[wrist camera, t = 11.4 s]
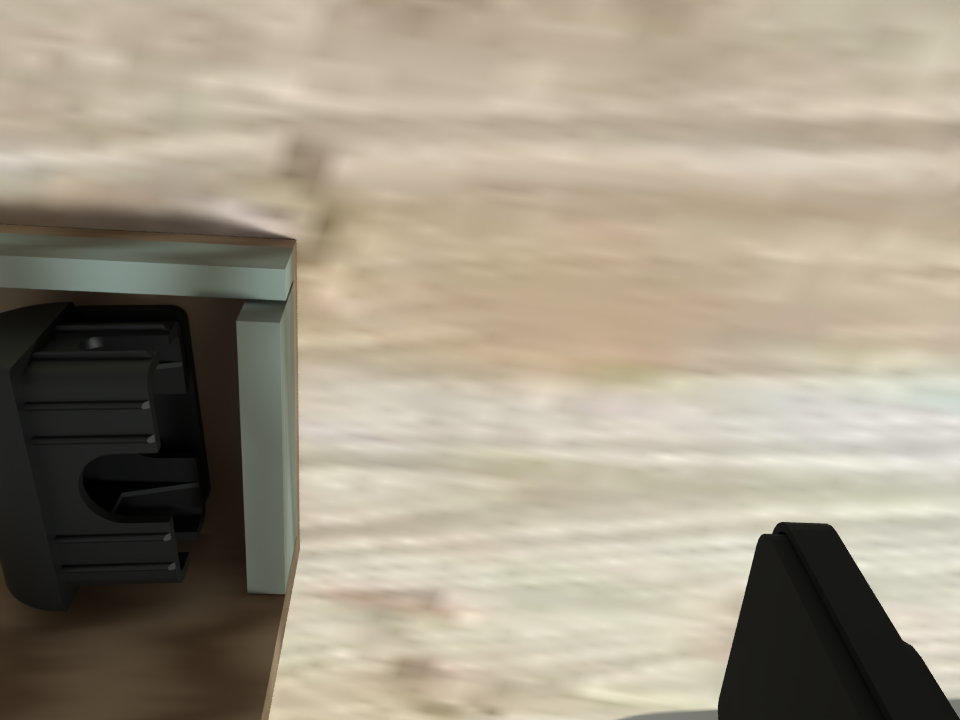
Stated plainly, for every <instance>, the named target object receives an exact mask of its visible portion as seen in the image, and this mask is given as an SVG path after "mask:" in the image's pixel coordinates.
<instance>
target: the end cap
mask: <svg viewBox="0 0 960 720" xmlns="http://www.w3.org/2000/svg"><path fill="white" fill-rule="evenodd" d="M210 489H211V485H210V478H209V470H208V463H207V455H206V448H205V441H204V433H203V426H202V418H201V411H200V403H199V396H198V388H197V381H196V373H195V366H194V359H193V351H192V344H191V336H190V329H189V321H188V317H187V315H186V312H185V311H184V310H183V309H181V308H180V307H179V306H174V305H85V306H74V303H73V302H55V303H45V304H37V305H32V306H26V307H21V308H17V309H13V310H8V311H5V312H2V313H0V563H1V567H2V570H3V574H4V578H5V582H6V586H7V588H8V589H9V591H10V592H11V594H12V595H13V596H14V597H15V598H16V599H18V600H19V601H20V602H22V603H23V604H25V605H28V606H30V607H33V608H35V609H41V610H46V611H56V612H67V611H68V609H69V607H70V605H71V603H72V601H73V599H74V597H75V595H76V593H77V591H78V589H79V587H80V586H93V585H127V584H162V583H182V582H183V580H184V577H185V574H186V572H187V569H188V566H189V563H190V554H189V552H178V550H177V544H176V541H183V540H198V538H199V535H200V532H201V529H202V526H203V524H204V520H205V502H206V501H207V499H208V497H209V494H210Z"/></svg>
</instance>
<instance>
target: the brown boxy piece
mask: <svg viewBox="0 0 960 720" xmlns="http://www.w3.org/2000/svg"><path fill="white" fill-rule="evenodd" d="M55 302H73V303H74V306H85V305H174V306H179V307H180V308H181V309H183V310H184V311H185V312H186V315H187V317H188V321H189V329H190V336H191V344H192V351H193V359H194V366H195V373H196V381H197V388H198V396H199V403H200V411H201V418H202V426H203V433H204V441H205V448H206V455H207V463H208V470H209V478H210V485H211V489H210V494H209V497H208V499H207V501H206V502H205V520H204V524H203V526H202V529H201V532H200V535H199V538H198V540H183V541H176V544H177V550H178V552H189V554H190V563H189V566H188V569H187V572H186V574H185V577H184V580H183V582H182V583H162V584H127V585H93V586H80V587H79V589H78V591H77V593H76V595H75V597H74V599H73V601H72V603H71V605H70V607H69V609H68V611H67V612H56V611H46V610H41V609H35V608H33V607H30V606H28V605H25V604H23V603H22V602H20V601H19V600H18V599H16V598H15V597H14V596H13V595H12V594H11V592H10V591H9V589H8V588H7V586H6V582H5V578H4V574H3V570H2V567H1V563H0V720H268V718H269V713H270V707H271V702H272V696H273V691H274V686H275V680H276V675H277V669H278V664H279V659H280V653H281V648H282V642H283V637H284V632H285V626H286V621H287V615H288V610H289V605H290V599H291V594H292V588H293V583H294V577H295V572H296V567H297V561H298V556H299V550H300V539H299V443H298V348H297V252H296V240H290V239H271V238H252V237H233V236H214V235H194V234H175V233H156V232H137V231H118V230H99V229H80V228H61V227H42V226H23V225H4V224H0V313H2V312H5V311H8V310H13V309H17V308H21V307H26V306H32V305H37V304H45V303H55Z"/></svg>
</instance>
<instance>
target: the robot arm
mask: <svg viewBox="0 0 960 720" xmlns="http://www.w3.org/2000/svg"><path fill="white" fill-rule="evenodd" d="M718 720H960V719H959V717H958V716H957V714H956V712H955V711H954V709H953V708H952V706H951V704H950V703H949V701H948V700H947V698H946V696H945V695H944V693H943V692H942V690H941V688H940V687H939V685H938V683H937V682H936V680H935V679H934V677H933V675H932V674H931V672H930V671H929V669H928V667H927V666H926V664H925V663H924V661H923V659H922V658H921V656H920V655H919V654H918V653H917V651H916V650H915V649H914V648H913V646H911V645H909V644H908V643H906V642H904V641H903V640H902V639H901V637H900V635H899V634H898V632H897V630H896V629H895V627H894V626H893V624H892V622H891V621H890V619H889V617H888V616H887V614H886V612H885V611H884V609H883V607H882V606H881V604H880V603H879V601H878V599H877V598H876V596H875V594H874V593H873V591H872V589H871V588H870V586H869V584H868V583H867V581H866V580H865V578H864V576H863V575H862V573H861V571H860V570H859V568H858V566H857V565H856V563H855V562H854V560H853V558H852V557H851V555H850V553H849V552H848V550H847V548H846V547H845V545H844V543H843V542H842V540H841V539H840V537H839V535H838V534H837V532H836V531H835V529H834V528H833V527H832V526H831V525H828V524H821V523H795V522H781V523H778V524H777V525H776V527H775V528H774V530H773V533H772V534H763V535H761V536H760V538H759V540H758V543H757V546H756V550H755V554H754V558H753V562H752V566H751V570H750V574H749V578H748V583H747V587H746V591H745V595H744V599H743V603H742V607H741V611H740V615H739V619H738V623H737V627H736V631H735V635H734V640H733V644H732V648H731V652H730V656H729V660H728V664H727V668H726V672H725V676H724V680H723V684H722V688H721V693H720V697H719V702H718Z"/></svg>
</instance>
